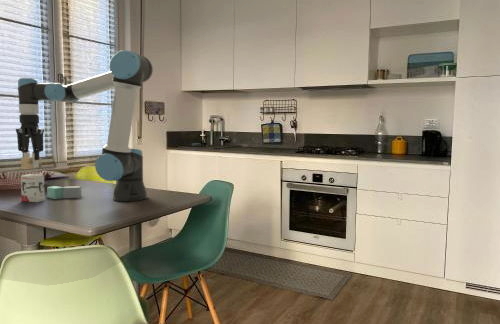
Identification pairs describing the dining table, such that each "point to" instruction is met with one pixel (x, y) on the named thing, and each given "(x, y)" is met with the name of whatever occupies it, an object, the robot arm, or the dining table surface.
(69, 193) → the brick grey
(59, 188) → the brick teal
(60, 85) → the robot arm
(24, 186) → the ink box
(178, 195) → the dining table surface
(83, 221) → the dining table surface
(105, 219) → the dining table surface
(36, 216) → the dining table surface
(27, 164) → the brick oak
